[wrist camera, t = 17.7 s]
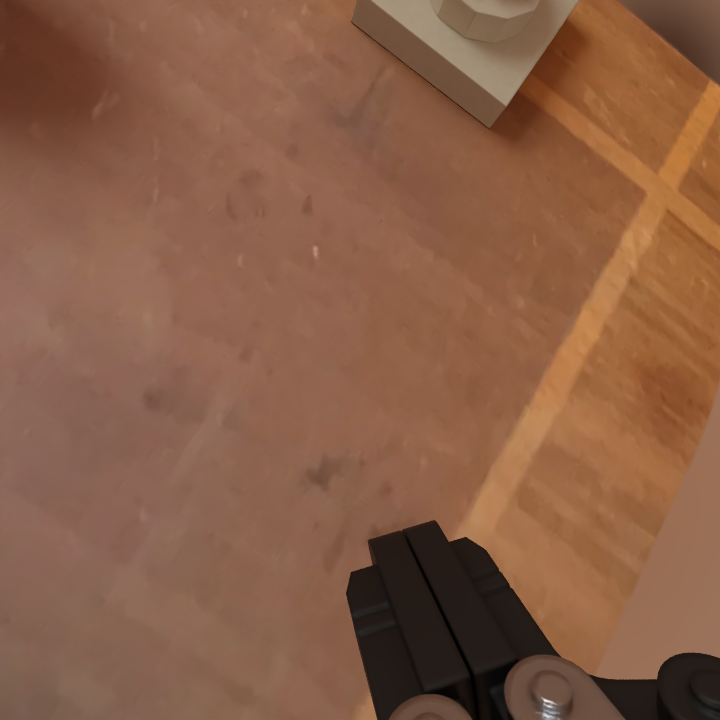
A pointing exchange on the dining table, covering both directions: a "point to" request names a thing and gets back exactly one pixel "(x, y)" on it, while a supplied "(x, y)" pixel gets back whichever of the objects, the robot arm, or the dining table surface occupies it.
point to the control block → (467, 43)
